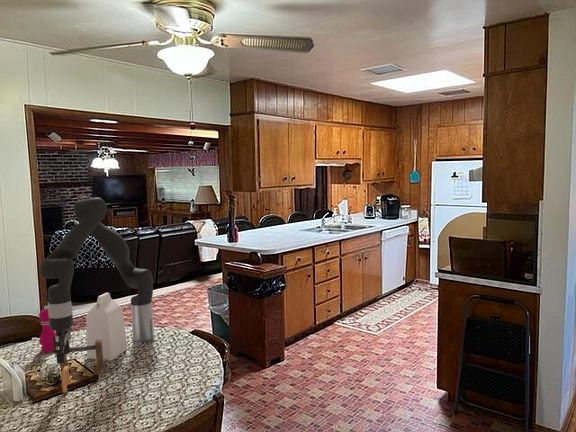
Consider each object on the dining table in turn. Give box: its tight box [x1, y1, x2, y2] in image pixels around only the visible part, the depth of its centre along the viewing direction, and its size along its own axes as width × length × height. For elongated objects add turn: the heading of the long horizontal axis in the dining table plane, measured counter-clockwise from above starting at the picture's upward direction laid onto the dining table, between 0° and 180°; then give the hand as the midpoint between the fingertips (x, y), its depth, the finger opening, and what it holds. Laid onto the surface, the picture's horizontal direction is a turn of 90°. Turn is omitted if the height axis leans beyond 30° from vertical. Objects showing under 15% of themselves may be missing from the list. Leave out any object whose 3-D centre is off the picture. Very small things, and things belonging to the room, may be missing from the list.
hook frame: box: [58, 339, 107, 376], centre depth 170 cm, size 16×10×12 cm, turn 105°
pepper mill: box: [38, 305, 56, 353], centre depth 194 cm, size 7×7×20 cm
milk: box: [85, 292, 129, 361], centre depth 188 cm, size 12×12×26 cm
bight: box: [61, 365, 71, 394], centre depth 157 cm, size 1×6×7 cm, turn 15°
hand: (63, 358), depth 156 cm, fingers open, 8 cm apart
